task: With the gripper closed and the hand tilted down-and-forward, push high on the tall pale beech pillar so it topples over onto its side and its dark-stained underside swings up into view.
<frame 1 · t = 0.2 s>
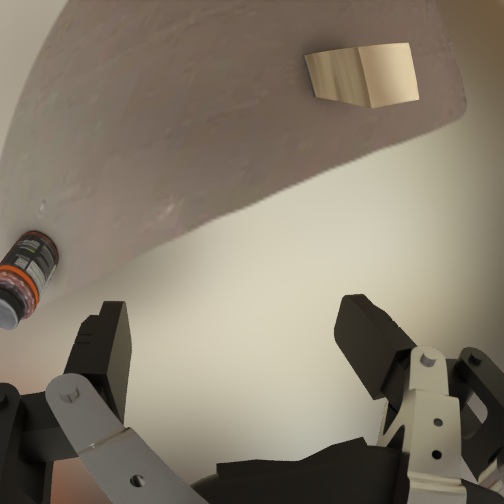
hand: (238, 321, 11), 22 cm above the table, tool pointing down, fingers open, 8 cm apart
supplement bottle: (39, 251, 31), on the table
beech block: (329, 71, 27), on the table
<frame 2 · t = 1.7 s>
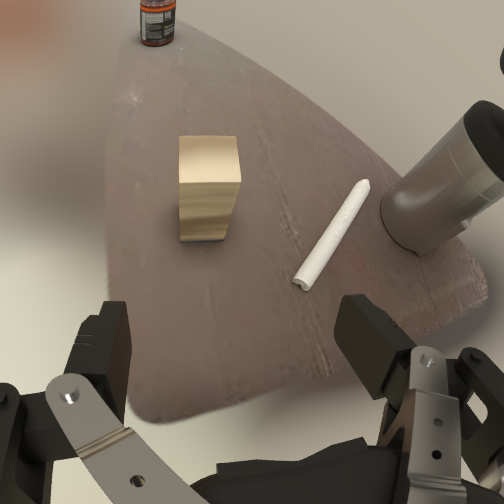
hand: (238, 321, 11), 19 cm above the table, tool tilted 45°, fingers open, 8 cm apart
supplement bottle: (157, 40, 44), on the table
beech block: (200, 221, 33), on the table
marker: (335, 229, 37), on the table
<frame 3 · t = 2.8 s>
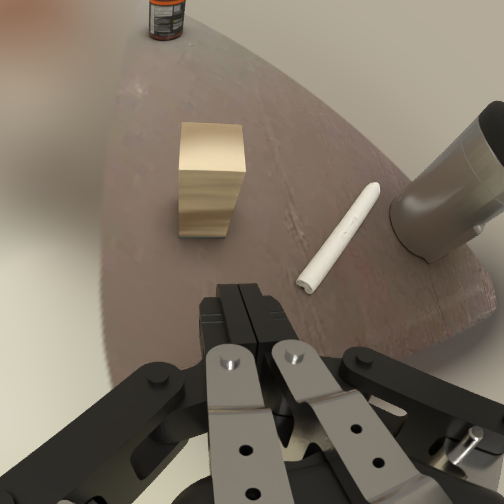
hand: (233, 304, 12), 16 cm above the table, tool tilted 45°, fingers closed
supplement bottle: (165, 34, 43), on the table
beech block: (201, 217, 31), on the table
marker: (342, 231, 35), on the table
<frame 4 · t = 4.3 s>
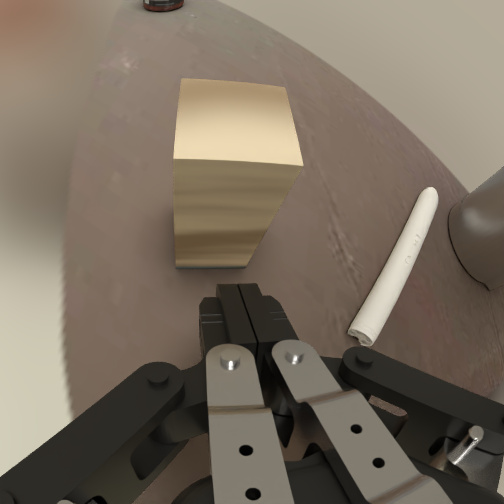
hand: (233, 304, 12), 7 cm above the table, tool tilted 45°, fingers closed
supplement bottle: (163, 6, 33), on the table
beech block: (209, 236, 21), on the table
marker: (399, 253, 25), on the table
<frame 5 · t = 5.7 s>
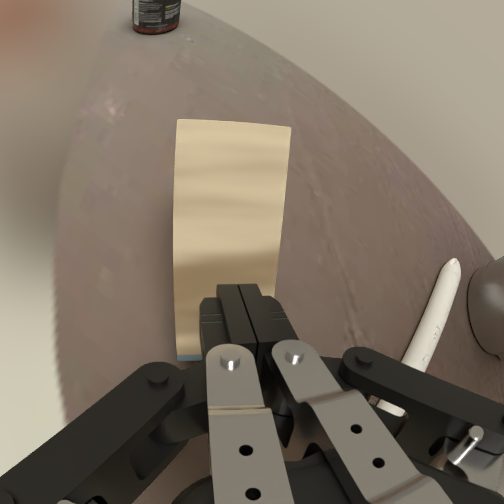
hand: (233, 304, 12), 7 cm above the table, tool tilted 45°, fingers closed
supplement bottle: (155, 26, 30), on the table
beech block: (217, 334, 17), point 2 cm above the table, tilted 49°
marker: (416, 341, 22), on the table
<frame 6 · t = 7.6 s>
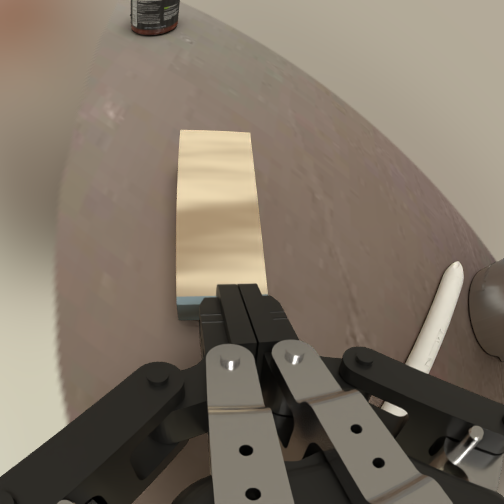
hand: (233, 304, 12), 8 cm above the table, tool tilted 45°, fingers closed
supplement bottle: (154, 28, 30), on the table
beech block: (218, 312, 17), point 2 cm above the table, tilted 90°
marker: (418, 344, 22), on the table
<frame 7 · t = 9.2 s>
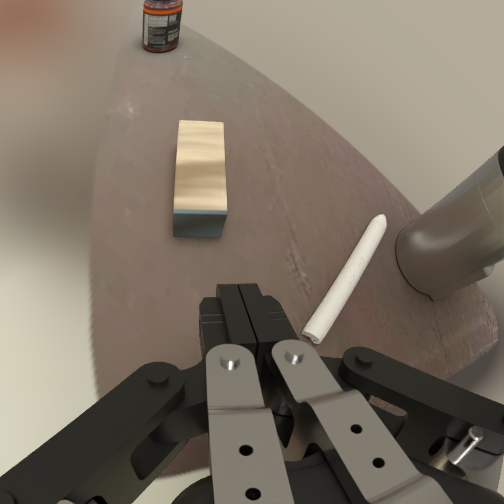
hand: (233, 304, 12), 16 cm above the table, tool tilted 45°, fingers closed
supplement bottle: (160, 46, 41), on the table
beech block: (198, 226, 28), point 2 cm above the table, tilted 90°
marker: (348, 271, 33), on the table
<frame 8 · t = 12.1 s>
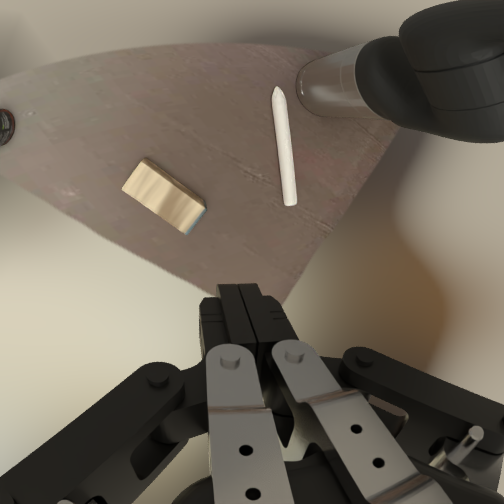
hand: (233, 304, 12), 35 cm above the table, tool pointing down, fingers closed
supplement bottle: (2, 127, 33), on the table
beech block: (196, 217, 44), point 2 cm above the table, tilted 90°
marker: (281, 145, 45), on the table
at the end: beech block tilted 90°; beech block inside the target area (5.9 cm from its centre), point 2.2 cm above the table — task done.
